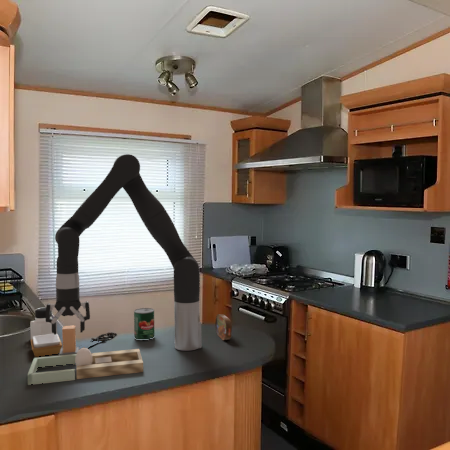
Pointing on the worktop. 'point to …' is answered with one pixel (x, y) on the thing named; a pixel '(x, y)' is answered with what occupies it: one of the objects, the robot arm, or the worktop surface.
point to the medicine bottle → (41, 323)
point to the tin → (223, 327)
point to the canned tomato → (144, 323)
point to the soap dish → (46, 345)
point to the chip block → (103, 360)
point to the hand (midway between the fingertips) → (68, 332)
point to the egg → (83, 357)
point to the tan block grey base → (69, 341)
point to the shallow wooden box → (112, 364)
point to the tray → (51, 375)
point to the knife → (105, 337)
